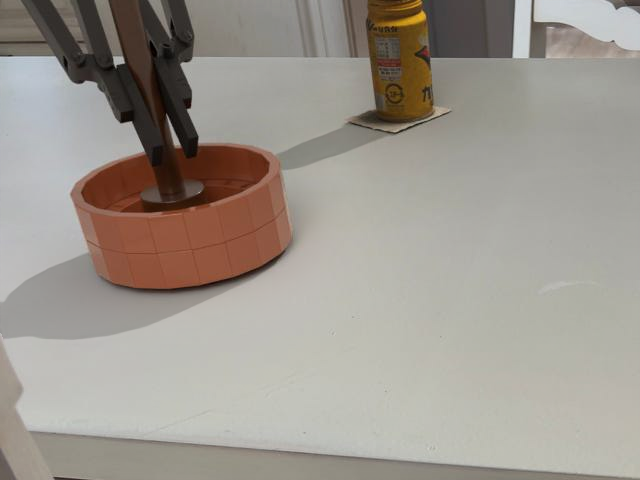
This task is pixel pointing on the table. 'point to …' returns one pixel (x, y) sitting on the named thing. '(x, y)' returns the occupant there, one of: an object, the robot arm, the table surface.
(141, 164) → the bowl
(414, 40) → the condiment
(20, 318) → the table surface
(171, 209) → the stick
